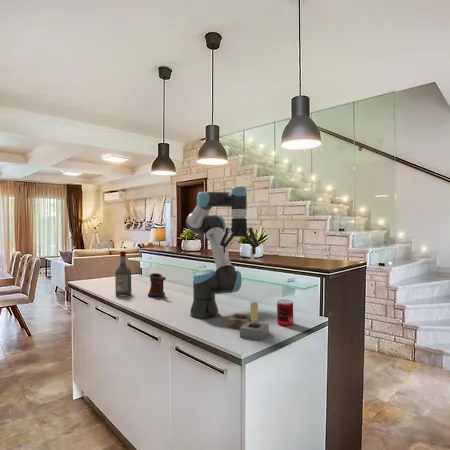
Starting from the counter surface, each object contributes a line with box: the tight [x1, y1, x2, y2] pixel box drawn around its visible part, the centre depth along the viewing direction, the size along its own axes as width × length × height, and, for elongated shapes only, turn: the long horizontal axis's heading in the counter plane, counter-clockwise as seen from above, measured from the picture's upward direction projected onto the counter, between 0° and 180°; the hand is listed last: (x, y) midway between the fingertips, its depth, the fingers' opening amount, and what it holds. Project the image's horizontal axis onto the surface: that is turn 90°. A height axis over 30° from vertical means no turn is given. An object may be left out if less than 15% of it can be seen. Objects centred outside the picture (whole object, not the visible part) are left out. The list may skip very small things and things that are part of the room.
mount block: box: [227, 312, 251, 330], centre depth 156 cm, size 10×10×4 cm
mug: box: [147, 272, 167, 299], centre depth 218 cm, size 18×12×15 cm, turn 37°
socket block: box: [239, 321, 270, 341], centre depth 143 cm, size 10×10×4 cm
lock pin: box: [250, 301, 259, 328], centre depth 143 cm, size 3×3×14 cm
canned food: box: [276, 299, 294, 327], centre depth 158 cm, size 8×8×11 cm
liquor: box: [114, 250, 132, 296], centre depth 226 cm, size 9×9×30 cm
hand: (239, 260), depth 162 cm, fingers open, 13 cm apart
